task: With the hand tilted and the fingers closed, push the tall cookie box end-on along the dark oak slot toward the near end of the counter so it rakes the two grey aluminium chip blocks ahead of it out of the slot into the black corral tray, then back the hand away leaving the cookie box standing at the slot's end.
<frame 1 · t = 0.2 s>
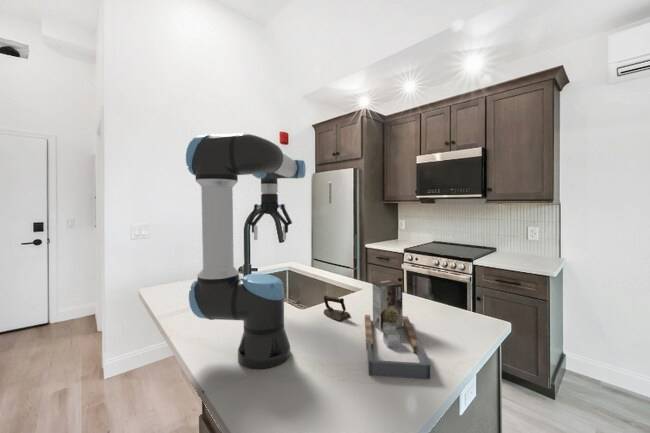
hand: (270, 239, 137), 28 cm above the countertop, tool pointing down, fingers open, 13 cm apart
chip b: (391, 344, 95), on the countertop
tray: (395, 362, 84), on the countertop
clothes iron: (334, 316, 119), on the countertop
slot rails: (389, 334, 102), on the countertop
cookie box: (387, 326, 109), on the countertop
chip a: (389, 336, 101), on the countertop
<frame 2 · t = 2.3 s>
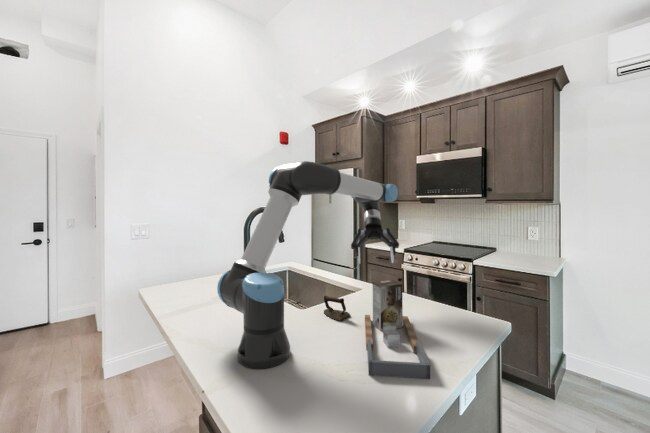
hand: (376, 261, 123), 21 cm above the countertop, tool tilted 40°, fingers open, 13 cm apart
nothing on the countertop moved.
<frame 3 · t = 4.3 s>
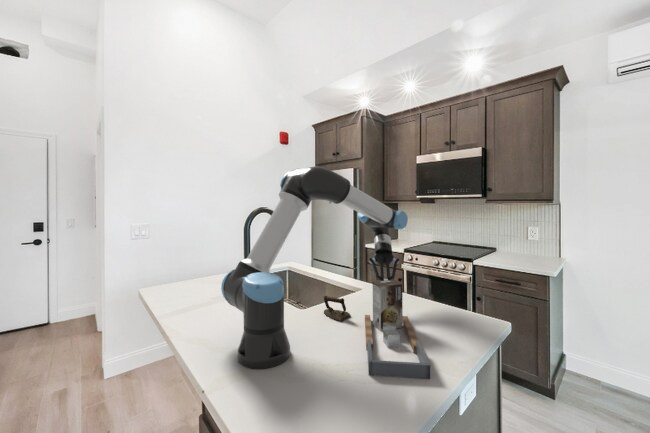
hand: (386, 295, 118), 8 cm above the countertop, tool tilted 45°, fingers closed
nothing on the countertop moved.
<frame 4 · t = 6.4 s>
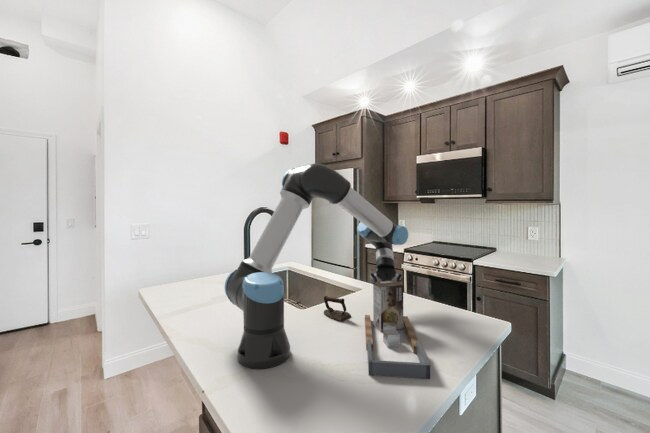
hand: (388, 313, 113), 3 cm above the countertop, tool tilted 45°, fingers closed
cookie box: (387, 327, 108), on the countertop, touching gripper
everything else where it was.
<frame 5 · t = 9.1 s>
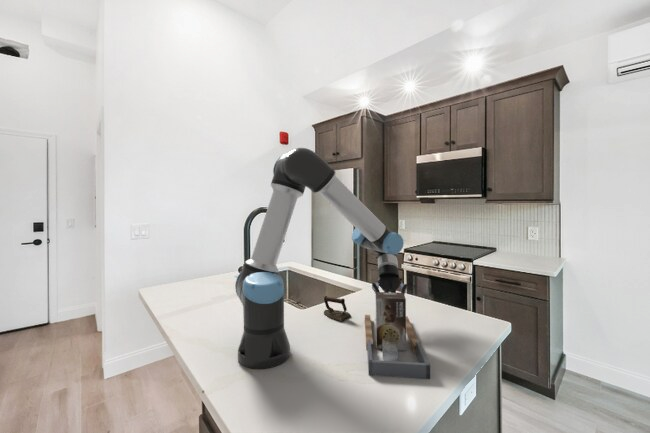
hand: (392, 330, 98), 3 cm above the countertop, tool tilted 45°, fingers closed
chip b: (389, 360, 85), on the countertop, touching chip a
cookie box: (390, 346, 94), on the countertop, touching chip a, gripper
chip a: (389, 353, 89), on the countertop, touching chip b, cookie box
everything else where it was.
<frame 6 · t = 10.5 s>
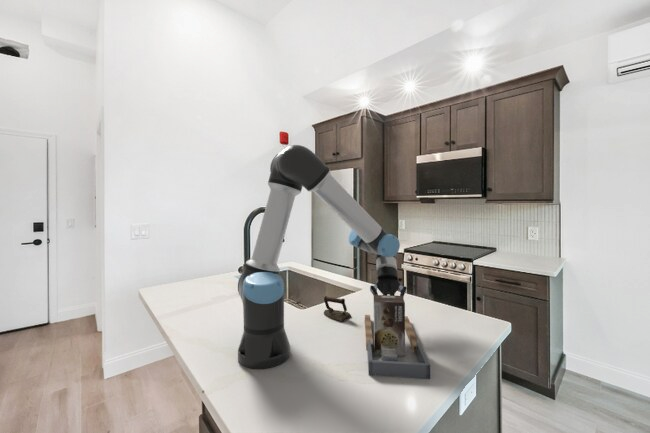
hand: (391, 334, 95), 3 cm above the countertop, tool tilted 45°, fingers closed
chip b: (389, 367, 82), on the countertop
cookie box: (388, 350, 91), on the countertop, touching gripper
chip a: (388, 359, 86), on the countertop
everything else where it was.
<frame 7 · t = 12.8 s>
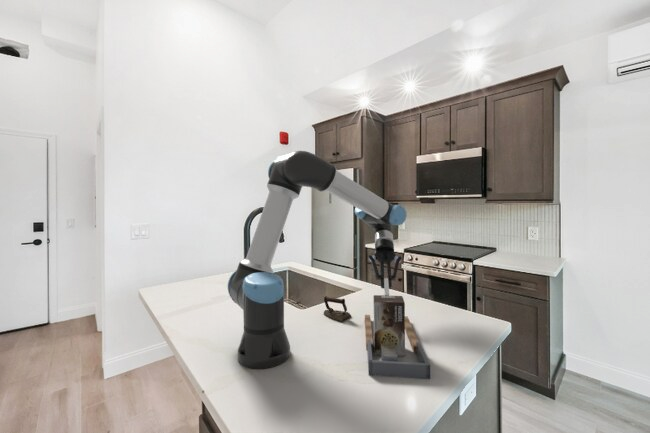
hand: (386, 295, 107), 12 cm above the countertop, tool tilted 45°, fingers closed
cookie box: (388, 351, 91), on the countertop
everything else where it was.
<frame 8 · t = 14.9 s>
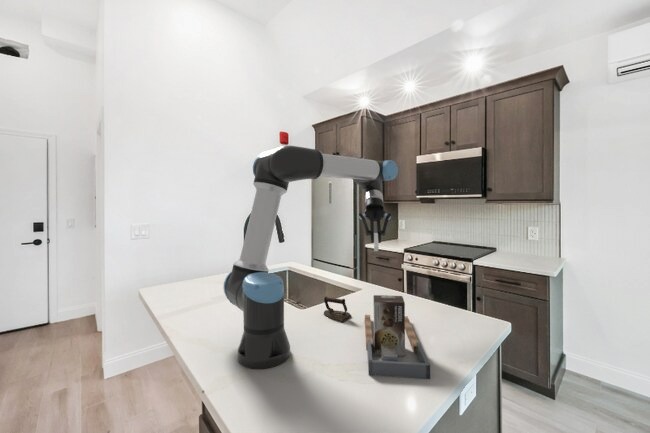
hand: (376, 248, 109), 28 cm above the countertop, tool tilted 45°, fingers closed
at the end: chip a 2.5 cm from the tray (horizontally); chip b 3.1 cm from the tray (horizontally); cookie box tilted 0° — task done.
